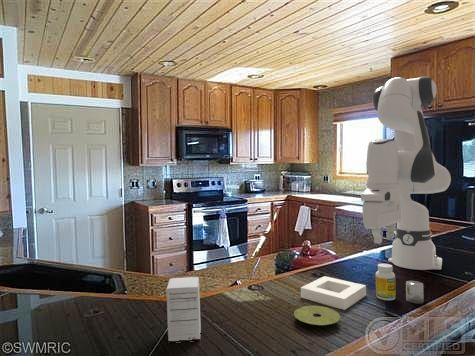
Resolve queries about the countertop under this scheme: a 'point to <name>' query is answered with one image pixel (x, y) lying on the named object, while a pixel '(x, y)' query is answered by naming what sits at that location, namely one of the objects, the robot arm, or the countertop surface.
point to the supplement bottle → (385, 282)
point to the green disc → (317, 315)
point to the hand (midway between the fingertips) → (384, 240)
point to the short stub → (414, 292)
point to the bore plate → (341, 300)
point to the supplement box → (183, 309)
